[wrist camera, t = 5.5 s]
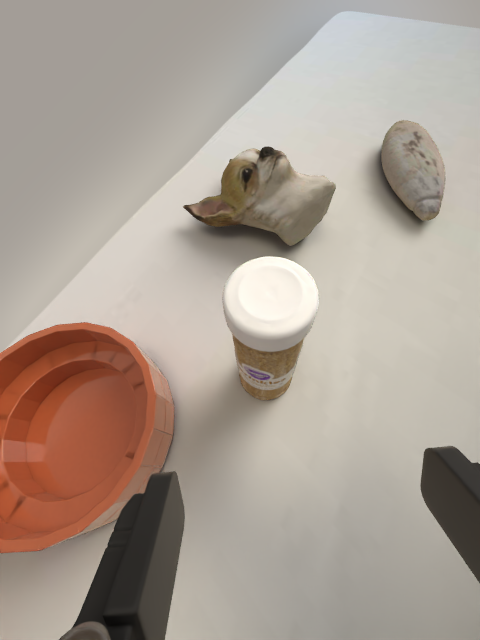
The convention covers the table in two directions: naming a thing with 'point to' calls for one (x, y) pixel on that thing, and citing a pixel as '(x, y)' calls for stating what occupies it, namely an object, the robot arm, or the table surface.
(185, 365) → the table surface
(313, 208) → the ceramic sculpture
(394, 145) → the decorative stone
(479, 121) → the table surface
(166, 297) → the table surface
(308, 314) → the sprinkles bottle
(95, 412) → the bowl
